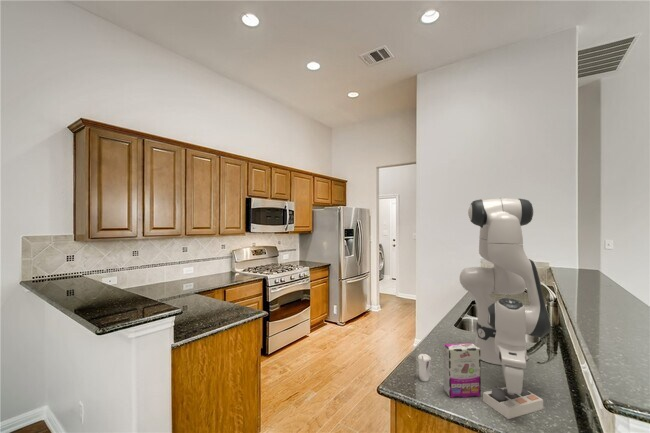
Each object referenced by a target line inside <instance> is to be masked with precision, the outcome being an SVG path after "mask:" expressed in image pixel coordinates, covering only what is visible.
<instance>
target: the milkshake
mask: <svg viewBox="0 0 650 433" xmlns="http://www.w3.org/2000/svg"><path fill="white" fill-rule="evenodd" d="M431 359H432V358H431V356H430V355H428V354H426V353H419V355H418V356H417V361H418V372H419V374H418V375H419V380H420V381H421V382H429V380H430V370H431V361H432V360H431Z"/></svg>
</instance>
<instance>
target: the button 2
mask: <svg viewBox="0 0 650 433" xmlns="http://www.w3.org/2000/svg"><path fill="white" fill-rule="evenodd" d="M528 391H529V390H528V389H527V388H525V387H524V386H522V392H521V394H519V395H521V396H526V395H528Z"/></svg>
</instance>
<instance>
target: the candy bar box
mask: <svg viewBox="0 0 650 433" xmlns="http://www.w3.org/2000/svg"><path fill="white" fill-rule="evenodd" d="M442 349H443V350H442V351H443V391H444V392H445V393H446V395H447V396H448V397H449V399H450V398H452V399H453V398H454V399H456V398H474V397H481V395H482V393H481V391H482V384H481V381H482V379H481V377H482V374H481V367H482V366H481V360H480V348H479V347H477V346H476V345H475V343H473V342H471V343H470V342H468V343H443V348H442Z"/></svg>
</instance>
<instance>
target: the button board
mask: <svg viewBox="0 0 650 433" xmlns="http://www.w3.org/2000/svg"><path fill="white" fill-rule="evenodd" d="M499 388H500V387H499ZM500 389H502V390H504V389H506V386H504V387H501V388H500ZM482 395H483V399H482V400H483V402H484V403H485V404H486V405H488V406H489V407H490V408H492V409H493V410H495V411H496V412H497V413H499V414H500V415H502V416H503V417H505V418H506V419H507V420H510V419H514V418H517V417H521V416H523V415H524V416H525V415H527V414H530V413H531V414H532V413H534V412H538V411H541V410H544V399H543V398H542V397H540V396H538V395H536V394H534V393H533V392H531V391H529V390H528V395H526V396H521V395H519V394H517V398H515V399H510V398H508V397H507V396H505V401H503V402H498V401H496V400H495V399H493V398H492V389H491V390H487V391H484V392H483V393H482Z"/></svg>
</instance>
